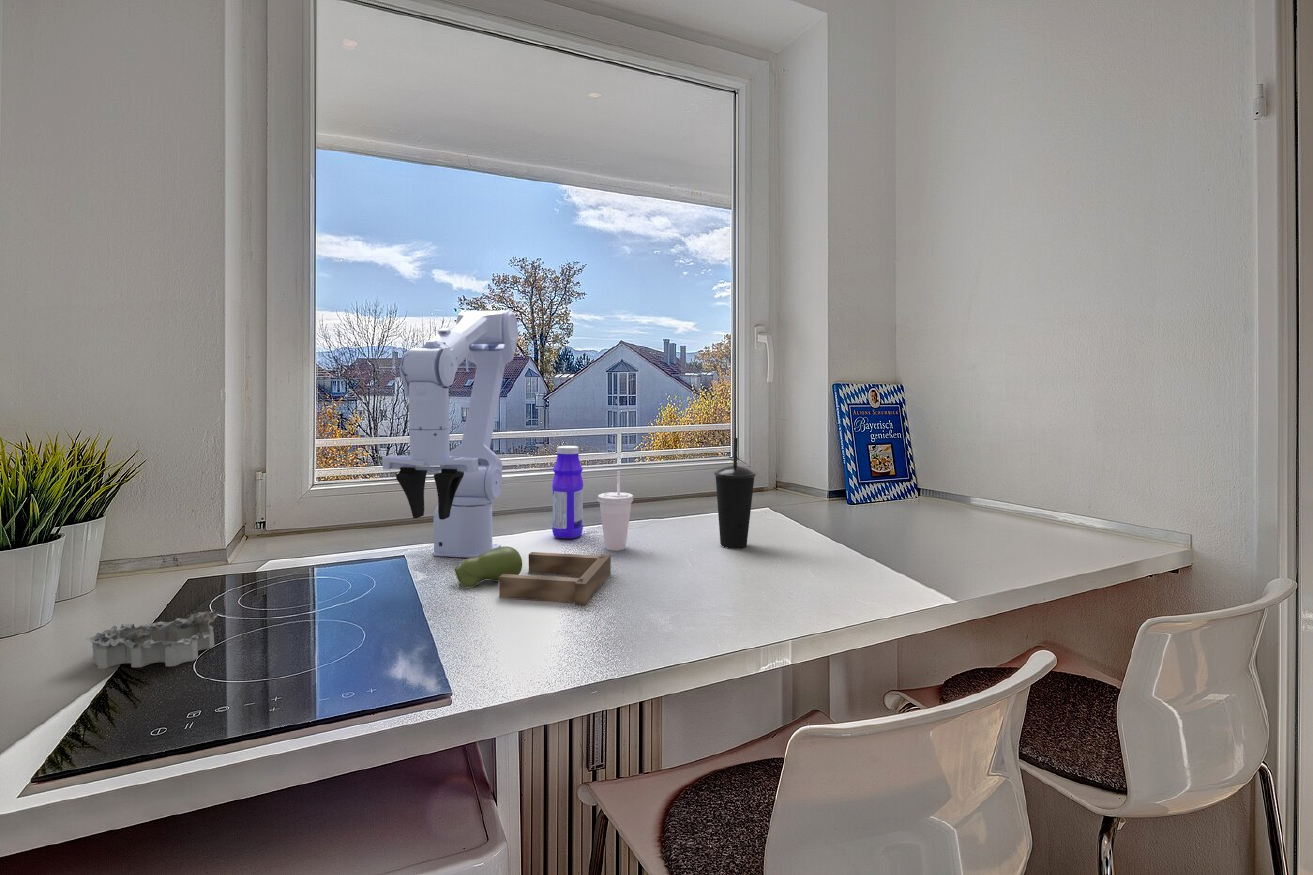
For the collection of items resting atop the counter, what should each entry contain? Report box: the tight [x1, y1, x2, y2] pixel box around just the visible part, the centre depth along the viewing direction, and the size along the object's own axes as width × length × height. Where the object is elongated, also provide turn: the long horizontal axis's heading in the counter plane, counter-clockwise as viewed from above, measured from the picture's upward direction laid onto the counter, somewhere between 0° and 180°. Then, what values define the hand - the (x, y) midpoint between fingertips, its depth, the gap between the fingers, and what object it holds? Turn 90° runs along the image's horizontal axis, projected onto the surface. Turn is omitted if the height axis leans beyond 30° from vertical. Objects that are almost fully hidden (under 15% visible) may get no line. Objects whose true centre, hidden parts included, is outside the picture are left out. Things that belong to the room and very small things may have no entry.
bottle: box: [551, 445, 584, 540], centre depth 132 cm, size 7×6×17 cm
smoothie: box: [597, 470, 634, 552], centre depth 123 cm, size 6×6×14 cm
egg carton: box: [84, 610, 218, 670], centre depth 76 cm, size 11×8×4 cm
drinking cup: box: [713, 437, 757, 549], centre depth 125 cm, size 8×8×20 cm
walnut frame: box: [498, 551, 612, 606], centre depth 102 cm, size 13×15×3 cm
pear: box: [453, 545, 523, 589], centre depth 103 cm, size 6×5×10 cm
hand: (431, 517), depth 104 cm, fingers open, 4 cm apart
